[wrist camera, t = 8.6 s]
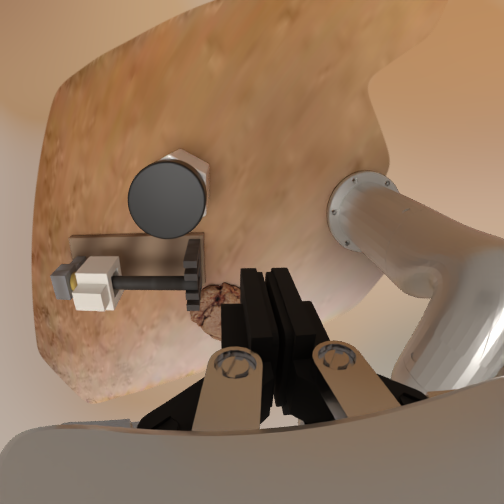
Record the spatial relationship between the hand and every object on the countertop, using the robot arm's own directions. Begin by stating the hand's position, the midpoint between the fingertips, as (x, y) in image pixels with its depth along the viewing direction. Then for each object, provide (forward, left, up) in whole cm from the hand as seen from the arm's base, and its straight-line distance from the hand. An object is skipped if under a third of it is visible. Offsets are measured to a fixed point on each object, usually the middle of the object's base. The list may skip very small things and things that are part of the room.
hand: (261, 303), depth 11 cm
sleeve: (+18, +13, -27) cm, 35 cm away
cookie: (+1, +22, -33) cm, 39 cm away
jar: (+7, +1, -32) cm, 33 cm away
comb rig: (+15, +12, -32) cm, 37 cm away
